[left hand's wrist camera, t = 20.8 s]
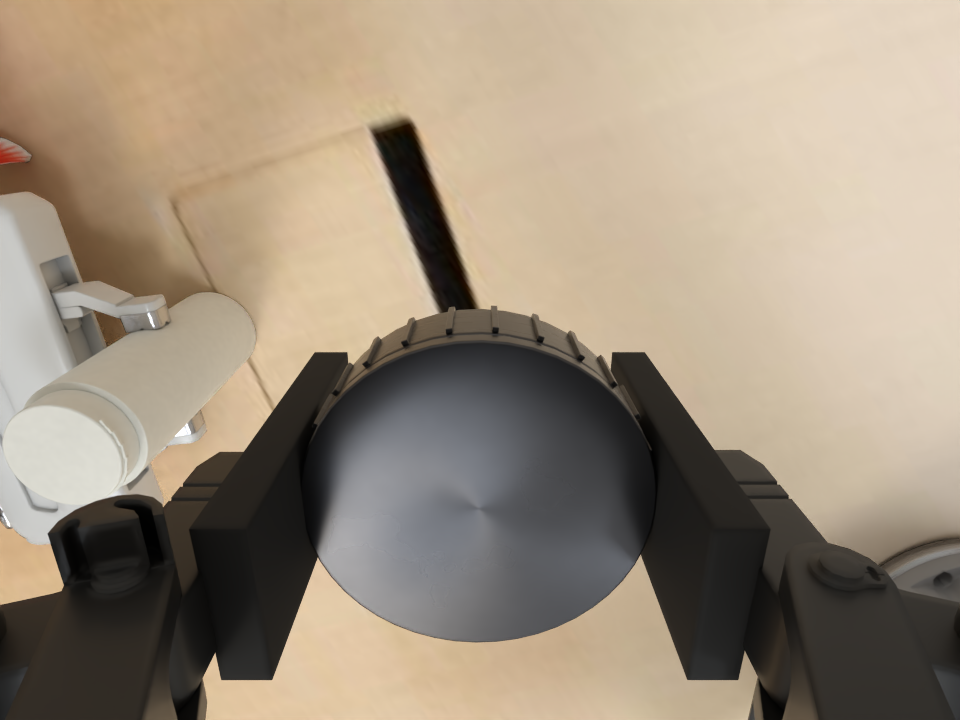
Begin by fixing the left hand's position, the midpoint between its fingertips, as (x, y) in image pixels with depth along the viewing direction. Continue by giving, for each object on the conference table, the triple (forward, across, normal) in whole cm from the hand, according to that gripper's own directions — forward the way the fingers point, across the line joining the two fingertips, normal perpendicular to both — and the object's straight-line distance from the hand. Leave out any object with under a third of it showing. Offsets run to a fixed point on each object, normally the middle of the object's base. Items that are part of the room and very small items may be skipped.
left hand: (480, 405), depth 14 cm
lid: (-4, 0, 0) cm, 4 cm away
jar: (+24, +17, +6) cm, 30 cm away
